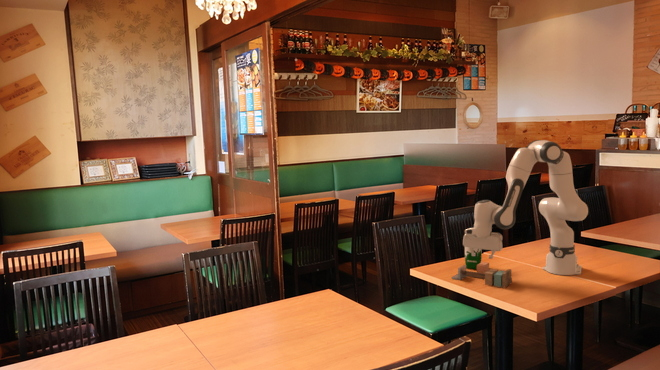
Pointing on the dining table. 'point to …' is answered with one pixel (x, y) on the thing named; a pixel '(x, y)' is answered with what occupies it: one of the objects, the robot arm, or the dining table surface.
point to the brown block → (490, 277)
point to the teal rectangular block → (498, 278)
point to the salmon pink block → (483, 267)
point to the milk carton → (472, 258)
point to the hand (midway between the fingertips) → (482, 257)
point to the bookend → (460, 273)
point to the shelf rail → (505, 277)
